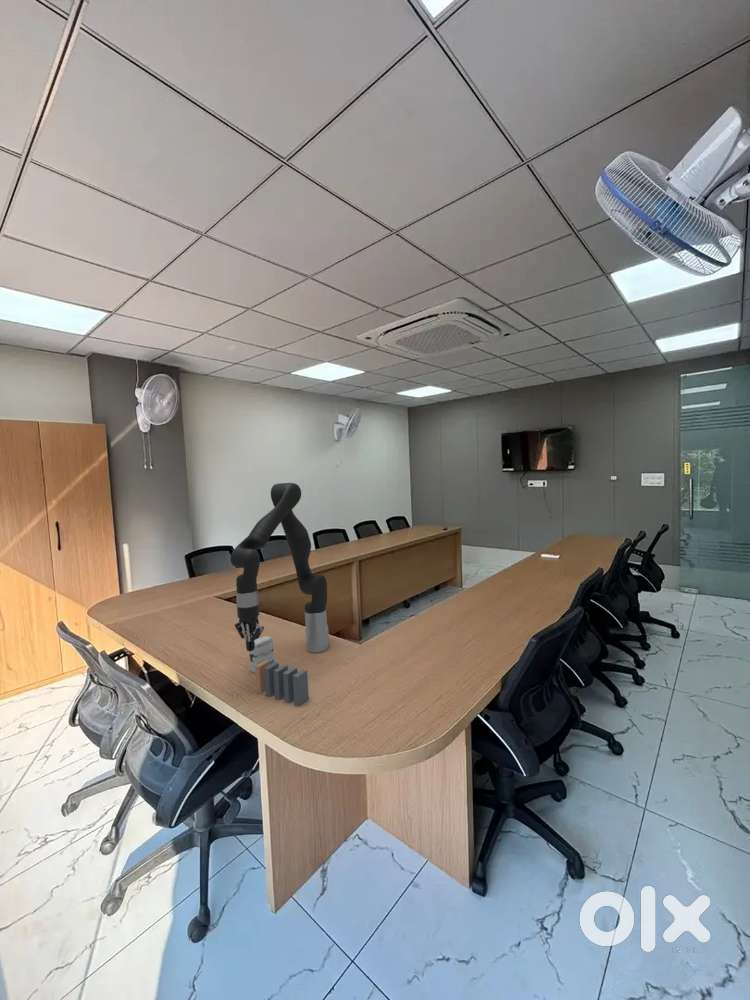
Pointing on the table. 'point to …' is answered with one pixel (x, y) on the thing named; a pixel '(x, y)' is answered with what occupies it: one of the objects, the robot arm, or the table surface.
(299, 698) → the domino
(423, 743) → the table surface
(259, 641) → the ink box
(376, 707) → the table surface
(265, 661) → the domino
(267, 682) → the domino
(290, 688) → the domino
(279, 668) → the domino
